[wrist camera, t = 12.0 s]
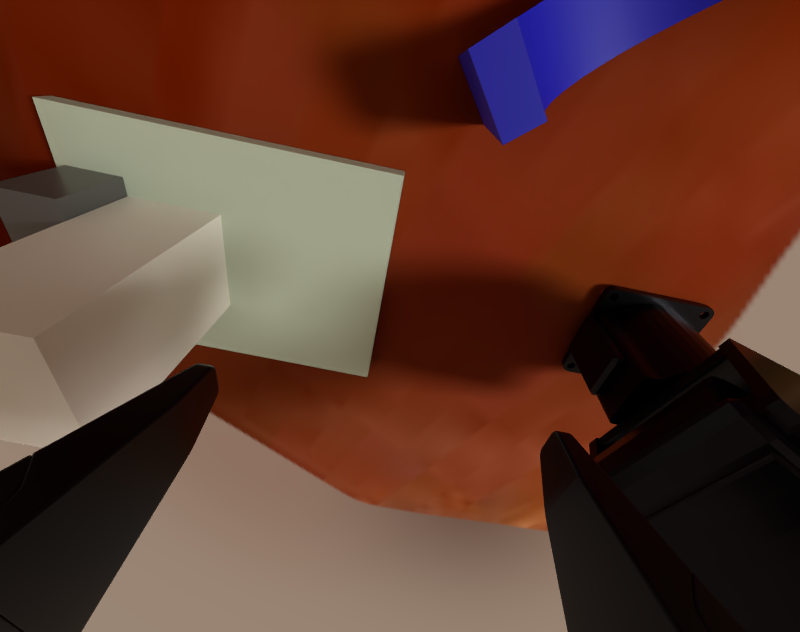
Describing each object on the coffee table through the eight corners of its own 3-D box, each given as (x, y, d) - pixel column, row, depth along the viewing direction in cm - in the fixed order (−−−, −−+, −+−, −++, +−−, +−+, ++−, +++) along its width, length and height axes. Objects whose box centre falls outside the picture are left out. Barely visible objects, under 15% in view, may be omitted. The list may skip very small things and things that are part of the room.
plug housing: (220, 214, 19) (33, 338, 10) (230, 305, 23) (95, 457, 14) (128, 196, 19) (-144, 304, 10) (152, 289, 23) (-37, 433, 14)
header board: (405, 171, 18) (395, 200, 14) (369, 367, 26) (356, 423, 22) (50, 95, 18) (-69, 102, 14) (123, 320, 26) (62, 368, 22)
